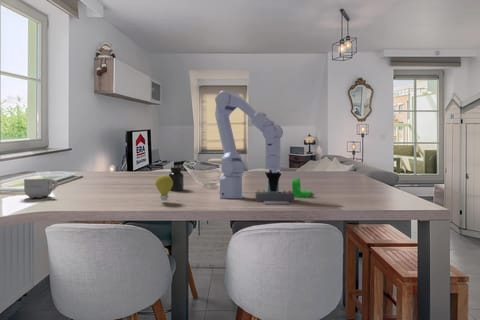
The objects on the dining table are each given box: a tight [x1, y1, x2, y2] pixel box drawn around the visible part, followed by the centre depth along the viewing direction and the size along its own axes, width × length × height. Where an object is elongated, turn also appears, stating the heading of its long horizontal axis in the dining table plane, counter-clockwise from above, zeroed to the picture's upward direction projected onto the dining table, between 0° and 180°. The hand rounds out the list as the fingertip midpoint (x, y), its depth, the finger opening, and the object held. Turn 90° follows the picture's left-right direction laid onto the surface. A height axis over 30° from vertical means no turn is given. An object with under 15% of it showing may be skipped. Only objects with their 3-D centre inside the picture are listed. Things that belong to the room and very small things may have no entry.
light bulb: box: [155, 174, 173, 202], centre depth 154 cm, size 7×7×10 cm
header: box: [254, 189, 295, 203], centre depth 154 cm, size 14×8×4 cm, turn 90°
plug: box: [266, 177, 280, 193], centre depth 154 cm, size 4×4×8 cm
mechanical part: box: [291, 177, 313, 199], centre depth 169 cm, size 12×6×8 cm, turn 157°
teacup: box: [23, 178, 58, 198], centre depth 165 cm, size 14×11×8 cm
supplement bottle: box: [168, 166, 185, 192], centre depth 184 cm, size 7×7×12 cm
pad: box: [263, 201, 291, 206], centre depth 145 cm, size 9×8×1 cm
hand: (272, 190), depth 154 cm, fingers closed on plug, 4 cm apart
